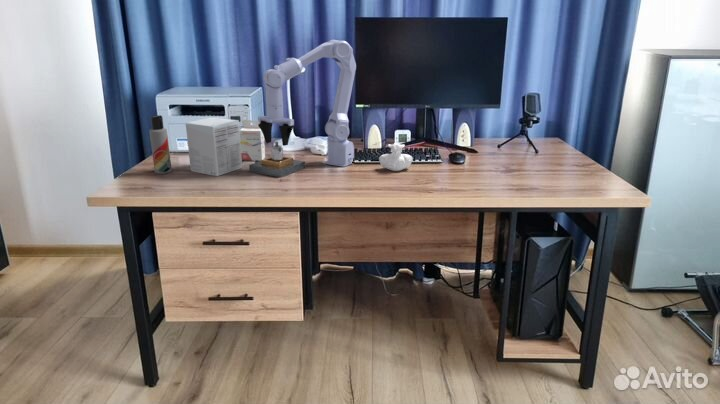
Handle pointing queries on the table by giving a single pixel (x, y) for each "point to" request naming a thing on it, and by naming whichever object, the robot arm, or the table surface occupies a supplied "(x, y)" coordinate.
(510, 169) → the table surface
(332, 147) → the robot arm
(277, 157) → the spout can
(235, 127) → the supplement box
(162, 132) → the lotion bottle
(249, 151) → the ink cartridge box
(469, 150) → the table surface
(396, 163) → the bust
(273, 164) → the gray plate with frame
